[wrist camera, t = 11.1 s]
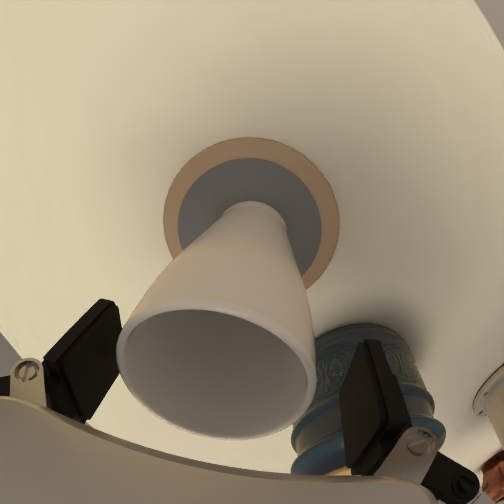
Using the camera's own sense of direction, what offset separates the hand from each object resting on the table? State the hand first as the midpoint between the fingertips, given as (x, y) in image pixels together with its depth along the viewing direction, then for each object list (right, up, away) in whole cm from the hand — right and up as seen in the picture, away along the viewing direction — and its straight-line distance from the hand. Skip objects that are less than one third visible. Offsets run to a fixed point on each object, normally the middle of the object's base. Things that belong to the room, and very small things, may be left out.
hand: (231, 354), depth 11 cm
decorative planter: (+63, -49, +30) cm, 85 cm away
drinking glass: (+1, +5, +12) cm, 13 cm away
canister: (+11, -9, +18) cm, 23 cm away
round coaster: (+1, +6, +13) cm, 14 cm away
